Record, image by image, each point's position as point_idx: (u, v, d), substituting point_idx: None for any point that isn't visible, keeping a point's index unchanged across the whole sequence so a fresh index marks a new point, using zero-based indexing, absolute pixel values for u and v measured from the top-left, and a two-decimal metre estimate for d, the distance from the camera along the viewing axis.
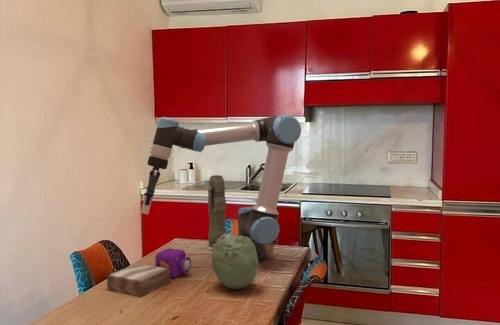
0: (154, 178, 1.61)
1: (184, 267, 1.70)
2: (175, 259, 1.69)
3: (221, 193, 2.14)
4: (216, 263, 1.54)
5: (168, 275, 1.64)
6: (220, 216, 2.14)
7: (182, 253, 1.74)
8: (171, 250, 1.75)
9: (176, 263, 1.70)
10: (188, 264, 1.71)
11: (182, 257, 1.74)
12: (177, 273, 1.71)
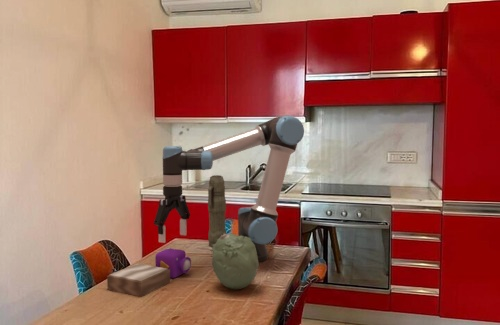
0: (161, 207, 1.66)
1: (184, 267, 1.70)
2: (175, 259, 1.69)
3: (221, 193, 2.14)
4: (216, 263, 1.54)
5: (168, 275, 1.64)
6: (220, 216, 2.14)
7: (182, 253, 1.74)
8: (171, 250, 1.75)
9: (176, 263, 1.70)
10: (188, 264, 1.71)
11: (182, 257, 1.74)
12: (177, 273, 1.71)
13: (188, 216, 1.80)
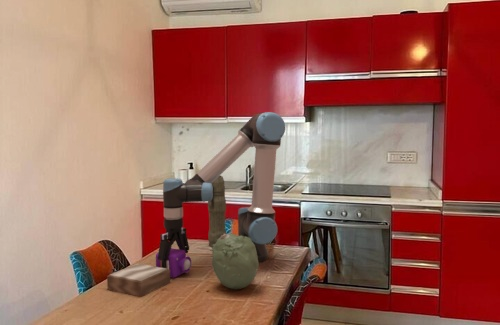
0: (162, 242, 1.67)
1: (184, 267, 1.70)
2: (175, 259, 1.70)
3: (221, 193, 2.14)
4: (216, 263, 1.54)
5: (168, 275, 1.64)
6: (220, 216, 2.14)
7: (182, 253, 1.74)
8: (171, 250, 1.76)
9: (177, 262, 1.70)
10: (188, 264, 1.71)
11: (182, 257, 1.74)
12: (177, 273, 1.71)
13: None
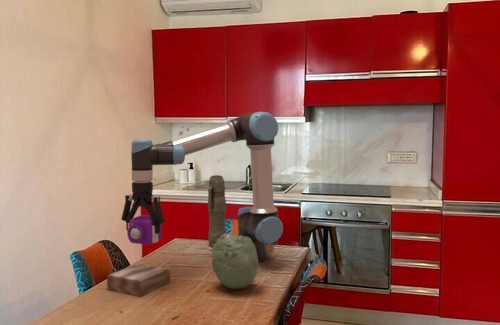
0: None
1: (130, 234, 1.58)
2: (130, 223, 1.61)
3: (221, 193, 2.14)
4: (216, 263, 1.54)
5: (168, 275, 1.64)
6: (220, 216, 2.14)
7: (143, 221, 1.59)
8: (148, 217, 1.64)
9: None
10: (132, 233, 1.56)
11: (141, 226, 1.59)
12: None
13: (159, 223, 1.59)
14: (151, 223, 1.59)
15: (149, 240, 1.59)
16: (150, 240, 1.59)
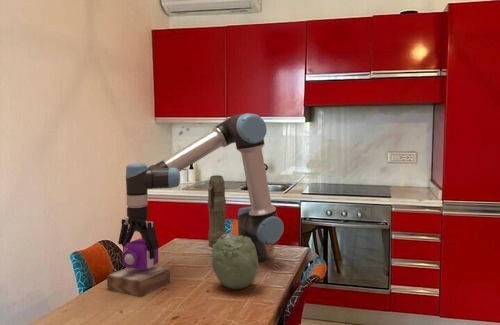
0: None
1: None
2: (125, 248, 1.60)
3: (221, 193, 2.14)
4: (216, 263, 1.54)
5: (168, 275, 1.64)
6: (220, 216, 2.14)
7: (137, 247, 1.58)
8: (144, 241, 1.62)
9: None
10: (126, 258, 1.55)
11: (136, 251, 1.58)
12: None
13: (153, 248, 1.57)
14: (145, 248, 1.57)
15: (144, 265, 1.57)
16: (144, 265, 1.57)
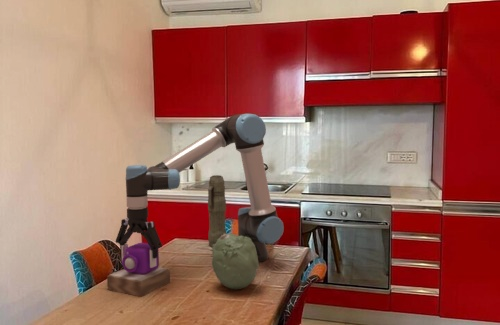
0: None
1: None
2: (126, 252, 1.60)
3: (221, 193, 2.14)
4: (216, 263, 1.54)
5: (168, 275, 1.64)
6: (220, 216, 2.14)
7: (137, 251, 1.58)
8: (144, 245, 1.62)
9: None
10: (126, 263, 1.55)
11: (136, 255, 1.58)
12: None
13: (156, 248, 1.56)
14: (146, 253, 1.58)
15: (144, 270, 1.57)
16: (145, 270, 1.58)
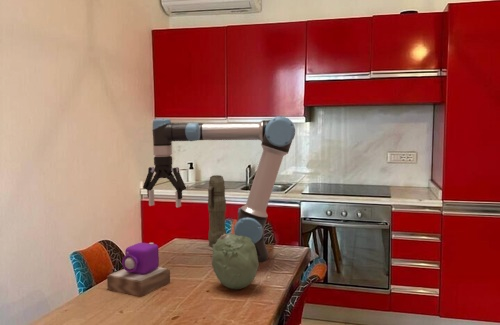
0: None
1: None
2: (126, 252, 1.60)
3: (221, 193, 2.14)
4: (216, 263, 1.54)
5: (168, 275, 1.64)
6: (220, 216, 2.14)
7: (137, 251, 1.58)
8: (144, 245, 1.62)
9: None
10: (126, 263, 1.55)
11: (136, 255, 1.58)
12: None
13: (181, 189, 1.79)
14: (146, 253, 1.58)
15: (144, 270, 1.57)
16: (145, 270, 1.58)
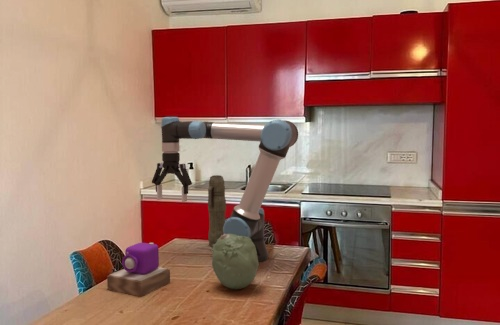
0: None
1: None
2: (126, 252, 1.60)
3: (221, 193, 2.14)
4: (216, 263, 1.54)
5: (168, 275, 1.64)
6: (220, 216, 2.14)
7: (137, 251, 1.58)
8: (144, 245, 1.62)
9: None
10: (126, 263, 1.55)
11: (136, 255, 1.58)
12: None
13: (187, 185, 1.87)
14: (146, 253, 1.58)
15: (144, 270, 1.57)
16: (145, 270, 1.58)
